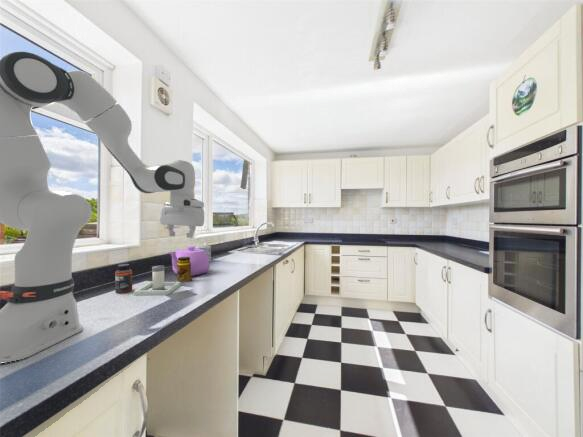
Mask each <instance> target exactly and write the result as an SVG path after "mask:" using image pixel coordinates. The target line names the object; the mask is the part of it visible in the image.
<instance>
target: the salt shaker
mask: <svg viewBox="0 0 583 437" xmlns="http://www.w3.org/2000/svg"><path fill="white" fill-rule="evenodd" d="M151 271H152V279H151V280H152V281H151V282H152V286H151V290H166V288H165V287H166V286H164V282H165V265H162V264H161V265H160V264H159V265H155V266H154V265H153V266H152V267H151Z"/></svg>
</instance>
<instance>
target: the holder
mask: <svg viewBox="0 0 583 437" xmlns="http://www.w3.org/2000/svg"><path fill="white" fill-rule="evenodd" d="M195 296H199V294H198V293H196V292H193V291H192V290H191V291H190V290H188V289H186V290H182V291H176V292H173V293H172V292H171V293H170V294H168V295H165V297H167V298H169V299H172V300H173V301H176V302H177V301H181V300H183V299H187V298H191V297H195Z"/></svg>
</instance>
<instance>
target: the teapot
mask: <svg viewBox="0 0 583 437" xmlns="http://www.w3.org/2000/svg"><path fill="white" fill-rule="evenodd" d="M195 247H196V246H195V245H192V246H187V249H182V250H180V249H178V250H175V252H173V251H171V252H170V251H168V252H167V253H168V254H169V255H170V256H171V264H172V271H173V272H174V274H176V275H177V264H178V258H179V257H190V263H191V278H192V277H195V276H198V275H202V274H205V273H208V272H209V269H210V262H209V260H208V257H207V254H206V252H205V251H204V250H200V249H195Z"/></svg>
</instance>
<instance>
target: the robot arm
mask: <svg viewBox="0 0 583 437" xmlns="http://www.w3.org/2000/svg"><path fill="white" fill-rule="evenodd" d="M53 104H60V105H62V106H65V107H66V108H68V109H69V110H71V112H74V113H75V115H77V117H78V118H79V119H80V120H81V121H82V122H84V124H85V125H86V126H87V127H88V128H89V129H90V130H91V131H92V132H93V133H94V134H95V136H97V138H99V140H100V142H101V143H102V144H103V146H104V147H105V148H106V149H107V151H108V152H109V153H110V155H111V156H113V158H114V159H115V160H116V161H117V163H119V165H120V166H121V167H122V168H123V169H124V171H126V173H127V174H128V175H129V177H130V180H131V181H132V184H133V185H134V187H135V188H136V190H138V191H139V192H141V193H143V194H153V193H154V194H155V193H163V192H169V193H170V194H169V195H170V196H169V202H165V203H164V204H163V205H162V209H161V212H160V219H159V221H160V225H163V226H165V225H166V227H167V231H168V236H169V237H175V236H176V231H175V230H174V227H175V226H186V227H188V229H189V231H188V232H187V233H186V238H188V239H193V237H194V233H195V231H196V227H203V226H204V224H205V210H204V207H205V202H203V201H201V200H198V199H196V198H195V190H194V189H195V186H196V171H195V167H194V165H193V164H192V163H190V162H188V161H185V160H181V159H178V160H177V159H176V160H174V161H172V162H170V163H166V164H158V165H153V166H152V165H151V166H149V165H147V164H145V163H143V161H142V160H141V159H140V157H139V156H138V155H137V154H136V152H134V150H133V149H132V148H131V146H130V144H129V140H128V139H129V136H130V135H131V133H132V126H133V124H132V121H131V119H130V117H129V115H128V113H127V112H126V111H125V109H124V108H123V107H122V105H120V104H119V103H118V101H117V100H116V98H114V97H113V96H112V94H111V93H110V92H108V90H107V89H106V88H105V87H104V86H102V84H101V83H100V82H98V81H97V80H96V79H95V78H94V77H92V75H90V74H89V73H87V72H86V71H82V70H78V69H77V70H69V71H67V70H66V69H63V68H62V67H59V66H58V65H56V64H55V63H52V62H51V61H50V60H47V59H46V58H44V57H43V56H40V55H38V54H35V53H32V52H28V51H12V52H9V53H7V54H5V55H4V56H3V57H1V59H0V224H2V225H4V226H6V227H9V228H12V229H15V230H18V231H27V233H26V234H27V235H26V238H25V242H24V243H23V245H22V246H21V248H20V250H18V251H17V252H16V253H15V256H14V285H12V288H11V289H10V290H6V291H5V290H0V300H6V301H7V303H6V304H5V305H4V306H3V307H2V308H0V363H1V362H10V363H12V362H11V361H15V362H17V361H16V360H19V361H21V360H20V359H22V360H24V358H25V359H27V358H29V357H31V356H33V355H36V354H37V353H39V352H41V351H43V350H45V349H48V348H49V347H52V346H53V345H56V344H57V343H60V342H62V341H63V340H66V339H68V338H70V337H72V336H74V335H76V334H78V333H80V332H83V330H84V328H83V325H82V324H80V319H79V313H78V312H79V311H78V304H77V300H76V299H75V296H74V293H73V291H74V289H75V281H74V278H73V277H72V262H73V258H72V257H73V256H72V255H73V249H74V246H75V242H76V241H77V240H76V239H77V237H78V235H79V233H80V231H81V229H83V227H85V226H86V225H87V224H88V223H89V222H90V221H91V218H92V213H93V212H92V206H91V204H90V202H89V201H88V200H87V199H86V198H85V197H83V196H81V195H79V194H76V193H73V192H68V191H64V190H50V189H49V185H48V172H49V171H50V169H51V167H52V166H51V161H50V159H49V157H48V155H47V153H46V150H45V148H44V145H43V144H42V141H41V139H40V137H39V135H38V132H37V130H36V128H35V126H34V124H33V122H32V117H31V113H32V110H35V109H39V108H42V107H47V106H50V105H53ZM26 357H27V358H26Z"/></svg>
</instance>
